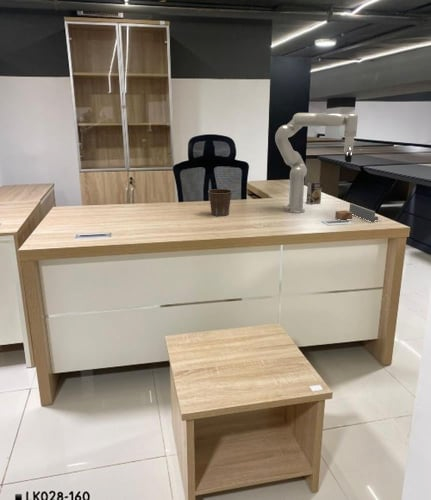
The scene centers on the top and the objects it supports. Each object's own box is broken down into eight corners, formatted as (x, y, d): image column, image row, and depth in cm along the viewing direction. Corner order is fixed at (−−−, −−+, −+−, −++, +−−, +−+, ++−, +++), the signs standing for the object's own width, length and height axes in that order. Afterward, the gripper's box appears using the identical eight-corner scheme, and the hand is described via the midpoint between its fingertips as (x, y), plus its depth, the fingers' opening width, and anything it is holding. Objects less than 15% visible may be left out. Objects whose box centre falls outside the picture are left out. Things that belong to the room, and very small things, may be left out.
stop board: (371, 222, 268) (372, 211, 266) (349, 213, 292) (350, 203, 290) (379, 222, 269) (380, 211, 267) (356, 213, 293) (357, 203, 291)
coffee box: (310, 204, 322) (312, 183, 317) (305, 203, 327) (307, 182, 322) (320, 203, 325) (322, 182, 320) (315, 202, 331) (317, 181, 326)
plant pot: (229, 217, 281) (230, 193, 277) (206, 216, 285) (205, 192, 280) (233, 212, 297) (234, 189, 292) (211, 211, 300) (211, 188, 295)
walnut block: (340, 221, 273) (341, 213, 271) (335, 218, 279) (335, 211, 278) (351, 220, 275) (352, 212, 273) (346, 217, 281) (346, 210, 280)
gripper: (343, 133, 281) (341, 160, 286) (345, 134, 265) (342, 162, 270) (355, 133, 279) (352, 160, 284) (357, 134, 263) (355, 163, 268)
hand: (347, 161), depth 277 cm, fingers open, 9 cm apart
